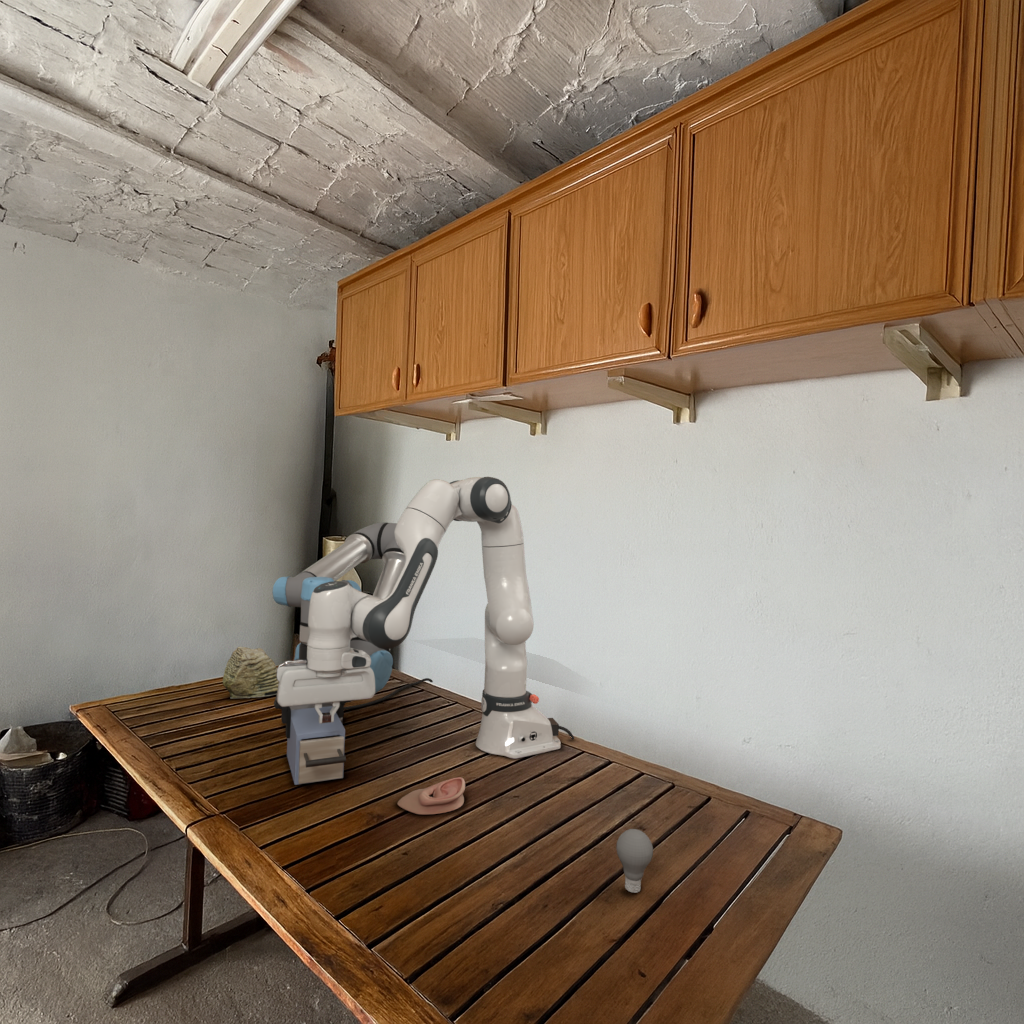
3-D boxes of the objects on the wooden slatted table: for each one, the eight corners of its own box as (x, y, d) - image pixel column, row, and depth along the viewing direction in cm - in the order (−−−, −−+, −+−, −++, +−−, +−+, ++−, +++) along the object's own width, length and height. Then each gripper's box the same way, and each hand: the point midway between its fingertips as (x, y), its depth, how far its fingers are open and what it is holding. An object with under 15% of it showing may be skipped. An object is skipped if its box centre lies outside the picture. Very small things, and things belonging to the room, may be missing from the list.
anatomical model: (392, 791, 129) (412, 768, 140) (391, 810, 129) (411, 786, 140) (454, 800, 126) (470, 776, 137) (454, 820, 126) (469, 794, 137)
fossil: (218, 695, 195) (220, 647, 195) (278, 685, 208) (279, 640, 207) (228, 703, 189) (230, 653, 188) (289, 692, 201) (290, 645, 201)
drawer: (347, 789, 135) (349, 747, 135) (302, 796, 132) (303, 753, 131) (330, 751, 155) (332, 714, 155) (291, 756, 151) (292, 718, 151)
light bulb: (610, 879, 108) (613, 822, 108) (644, 879, 109) (647, 822, 109) (619, 902, 102) (622, 840, 102) (655, 901, 103) (658, 840, 103)
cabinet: (343, 778, 143) (345, 729, 143) (294, 785, 139) (296, 735, 138) (330, 749, 158) (332, 705, 158) (286, 755, 154) (288, 710, 154)
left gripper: (265, 648, 144) (262, 745, 144) (367, 642, 153) (363, 733, 154) (263, 641, 150) (260, 733, 151) (360, 636, 160) (357, 723, 161)
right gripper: (278, 665, 128) (275, 733, 129) (378, 658, 137) (376, 721, 137) (275, 657, 134) (273, 722, 134) (372, 651, 143) (369, 712, 143)
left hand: (312, 733), depth 152 cm, fingers closed on cabinet, 10 cm apart
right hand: (326, 722), depth 136 cm, fingers closed
